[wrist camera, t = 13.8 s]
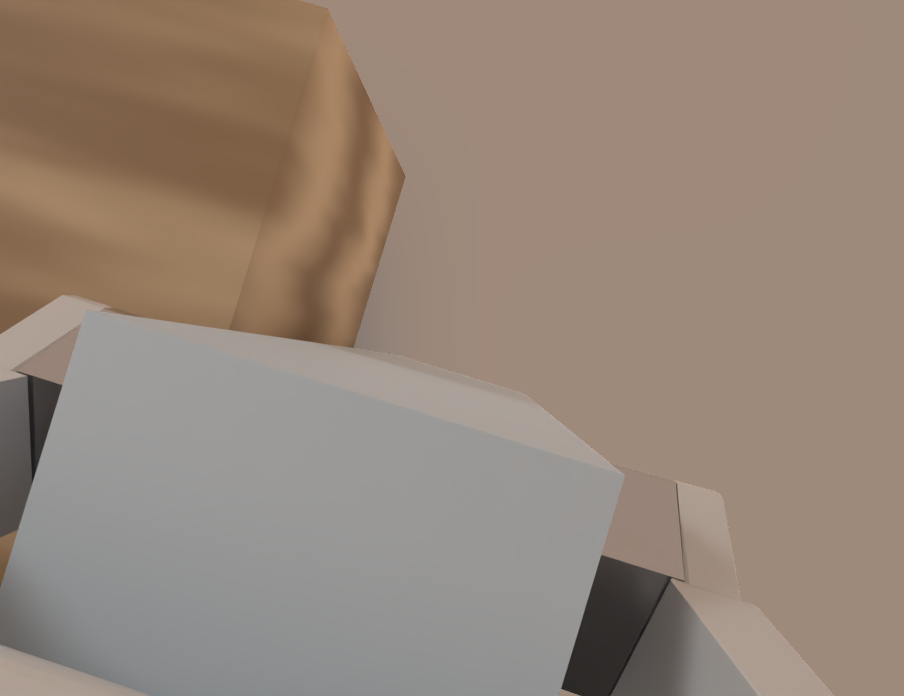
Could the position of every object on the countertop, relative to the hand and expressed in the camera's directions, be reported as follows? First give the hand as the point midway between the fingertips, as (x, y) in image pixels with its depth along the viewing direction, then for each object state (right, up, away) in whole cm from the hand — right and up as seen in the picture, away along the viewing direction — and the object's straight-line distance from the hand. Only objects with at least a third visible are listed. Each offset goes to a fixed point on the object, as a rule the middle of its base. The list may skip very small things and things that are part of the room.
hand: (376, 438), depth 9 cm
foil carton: (-1, -4, +7) cm, 8 cm away
